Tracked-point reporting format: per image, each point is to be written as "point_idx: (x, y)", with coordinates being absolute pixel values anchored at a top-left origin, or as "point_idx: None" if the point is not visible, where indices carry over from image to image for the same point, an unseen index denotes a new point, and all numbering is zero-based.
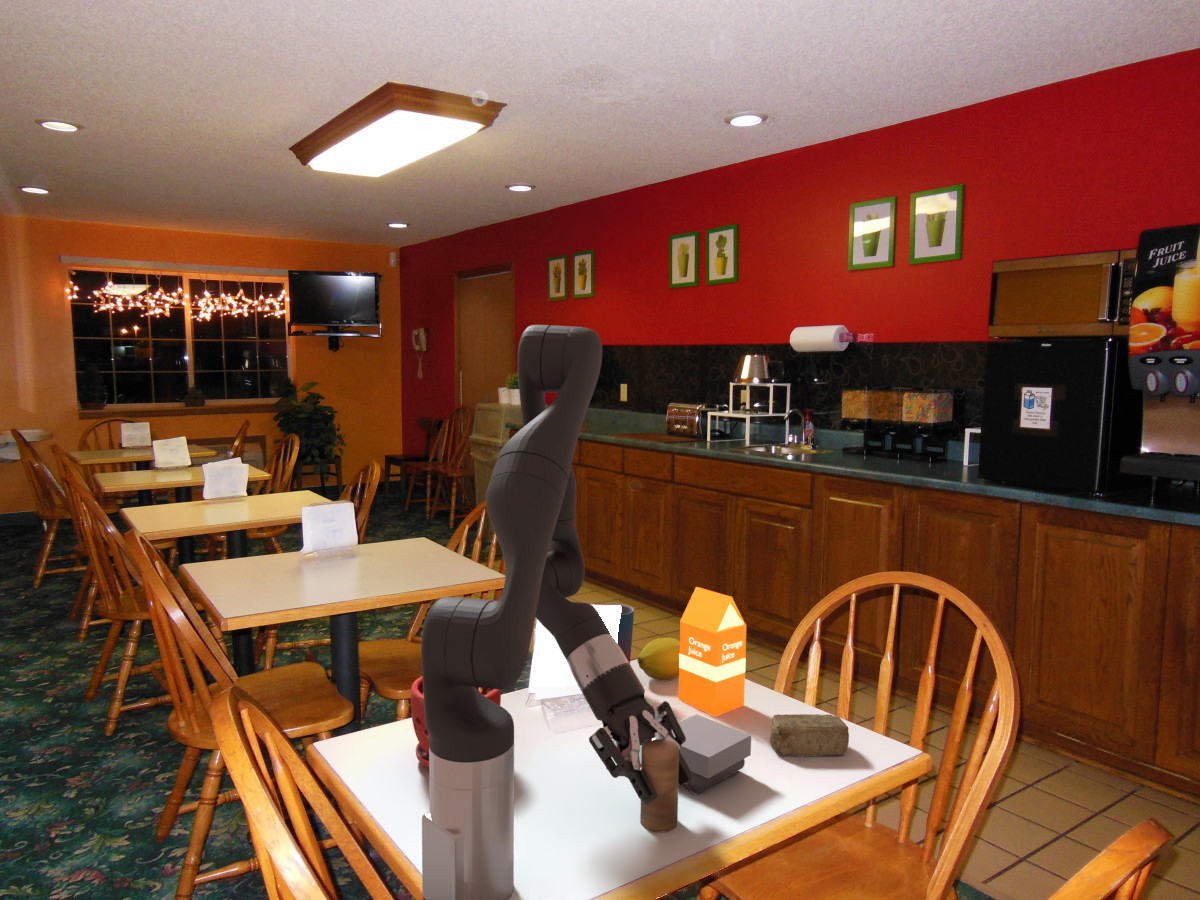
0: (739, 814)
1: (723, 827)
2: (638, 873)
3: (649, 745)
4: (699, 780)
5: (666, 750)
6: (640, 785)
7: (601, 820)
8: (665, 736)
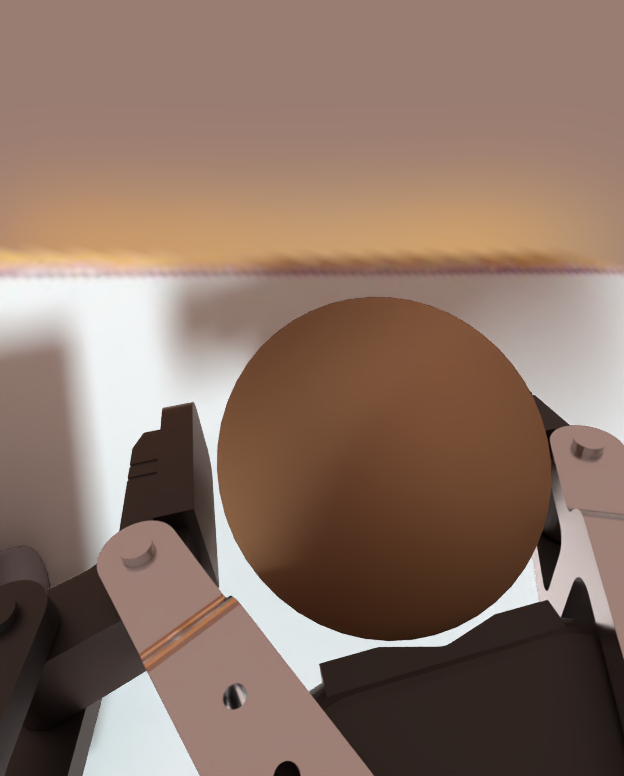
0: (25, 360)
1: (142, 329)
2: (528, 287)
3: (451, 546)
4: (10, 564)
5: (370, 386)
6: (534, 396)
7: (496, 604)
8: (219, 607)
